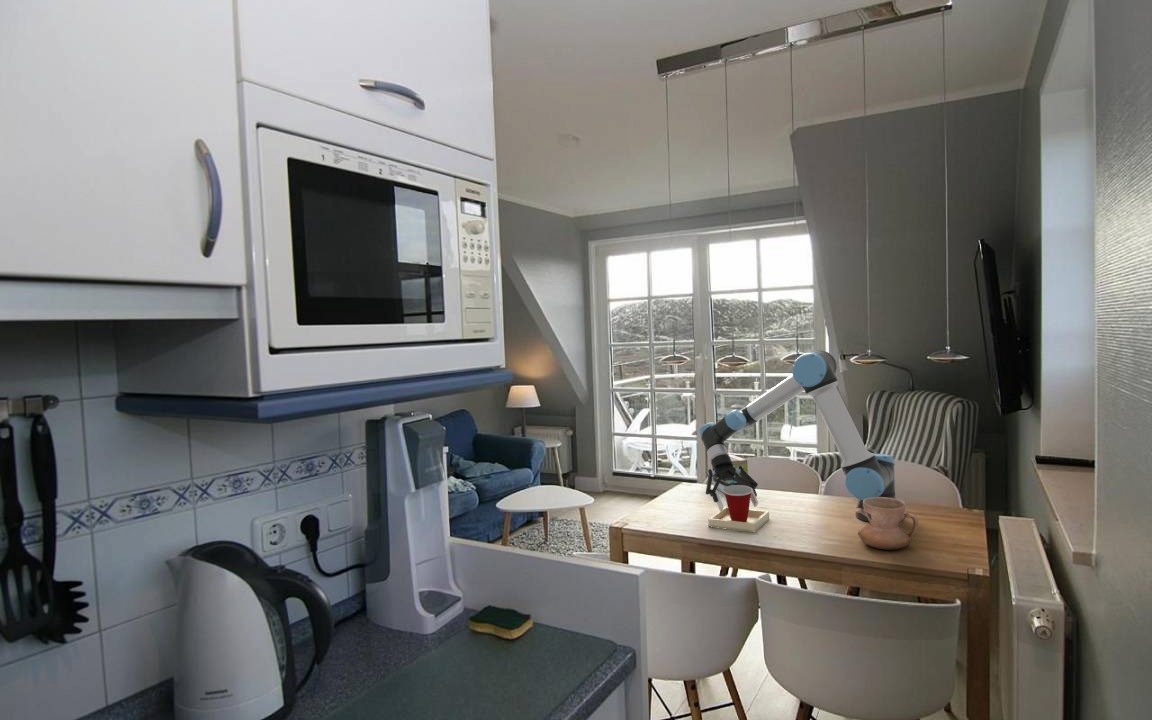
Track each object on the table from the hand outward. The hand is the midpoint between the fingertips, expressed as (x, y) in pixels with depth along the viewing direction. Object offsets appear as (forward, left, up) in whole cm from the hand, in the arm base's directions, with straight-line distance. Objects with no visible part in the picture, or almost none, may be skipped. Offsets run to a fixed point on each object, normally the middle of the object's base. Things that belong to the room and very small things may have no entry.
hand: (739, 507), depth 234 cm
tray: (0, 0, -6) cm, 6 cm away
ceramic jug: (-50, +5, -6) cm, 50 cm away
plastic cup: (0, 0, -5) cm, 5 cm away
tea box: (+19, -43, -6) cm, 48 cm away
